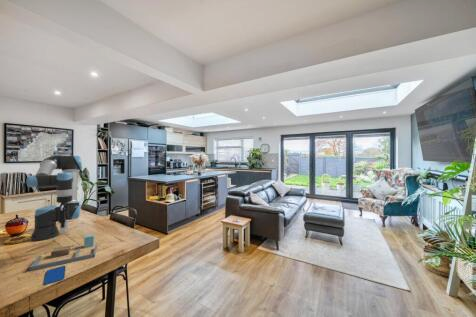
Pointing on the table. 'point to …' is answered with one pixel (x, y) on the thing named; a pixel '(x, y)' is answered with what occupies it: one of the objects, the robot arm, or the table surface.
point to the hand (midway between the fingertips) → (64, 230)
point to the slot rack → (76, 258)
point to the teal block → (89, 240)
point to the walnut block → (60, 251)
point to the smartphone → (54, 275)
